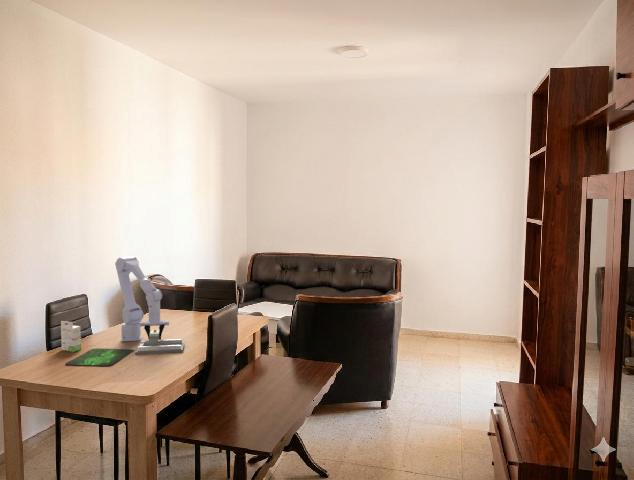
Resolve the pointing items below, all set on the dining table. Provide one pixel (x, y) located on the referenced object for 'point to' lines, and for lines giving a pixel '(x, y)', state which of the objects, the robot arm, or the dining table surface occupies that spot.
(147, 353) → the mounting board
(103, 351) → the mouse mat
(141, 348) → the rail
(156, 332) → the module
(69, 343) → the ink box
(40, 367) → the dining table surface
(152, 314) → the robot arm
